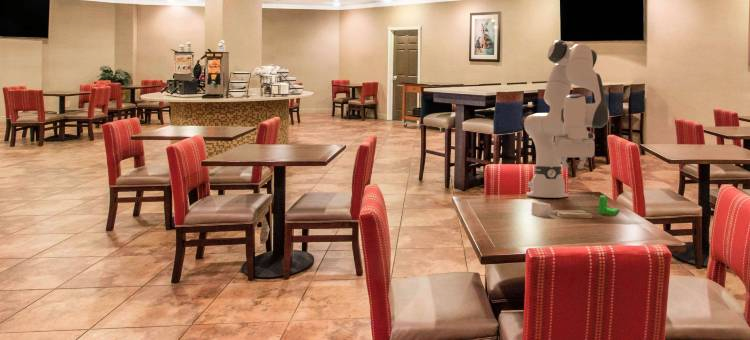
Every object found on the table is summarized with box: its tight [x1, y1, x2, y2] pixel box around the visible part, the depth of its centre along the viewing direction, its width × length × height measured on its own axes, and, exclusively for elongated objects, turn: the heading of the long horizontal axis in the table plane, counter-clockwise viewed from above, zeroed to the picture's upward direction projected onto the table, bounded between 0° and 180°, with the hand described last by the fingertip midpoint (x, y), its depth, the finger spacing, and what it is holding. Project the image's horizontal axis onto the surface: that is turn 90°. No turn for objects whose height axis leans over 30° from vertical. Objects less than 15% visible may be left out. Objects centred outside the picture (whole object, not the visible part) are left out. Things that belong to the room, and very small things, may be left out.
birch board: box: [553, 209, 594, 219], centre depth 250 cm, size 14×12×2 cm
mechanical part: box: [598, 194, 620, 216], centre depth 258 cm, size 12×6×8 cm, turn 148°
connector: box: [531, 201, 555, 218], centre depth 248 cm, size 12×4×5 cm, turn 17°
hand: (573, 168), depth 249 cm, fingers open, 7 cm apart
